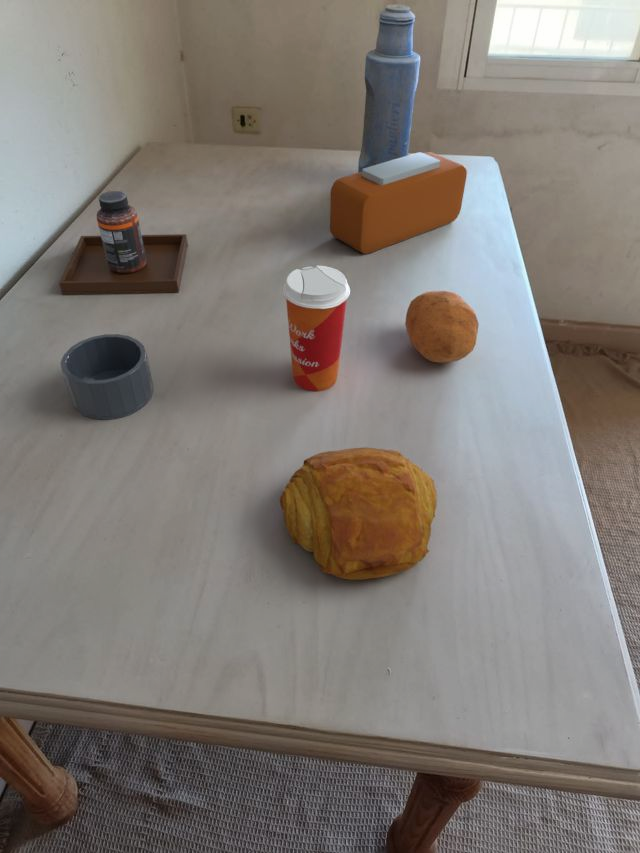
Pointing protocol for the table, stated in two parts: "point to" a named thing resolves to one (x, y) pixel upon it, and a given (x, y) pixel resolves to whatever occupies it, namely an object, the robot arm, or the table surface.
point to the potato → (441, 326)
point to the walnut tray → (156, 276)
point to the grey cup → (107, 376)
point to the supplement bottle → (120, 233)
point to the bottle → (389, 89)
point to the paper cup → (316, 324)
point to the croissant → (360, 511)
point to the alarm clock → (396, 200)
